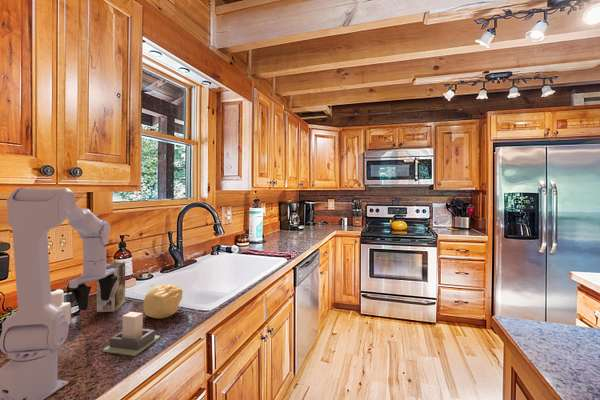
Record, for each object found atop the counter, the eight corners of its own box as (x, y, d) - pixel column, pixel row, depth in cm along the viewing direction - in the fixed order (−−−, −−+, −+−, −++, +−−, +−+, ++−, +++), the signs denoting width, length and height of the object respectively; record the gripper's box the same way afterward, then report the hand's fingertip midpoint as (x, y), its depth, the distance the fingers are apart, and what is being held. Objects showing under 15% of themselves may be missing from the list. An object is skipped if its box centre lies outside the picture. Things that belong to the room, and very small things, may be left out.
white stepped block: (29, 333, 88) (29, 294, 88) (48, 323, 95) (49, 287, 95) (53, 334, 88) (53, 294, 88) (71, 323, 95) (71, 287, 95)
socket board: (135, 355, 77) (135, 344, 77) (102, 351, 79) (103, 340, 79) (160, 337, 87) (160, 327, 87) (130, 334, 89) (130, 324, 89)
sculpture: (165, 324, 96) (165, 291, 96) (135, 319, 99) (136, 288, 99) (187, 311, 107) (187, 282, 107) (160, 307, 110) (160, 279, 110)
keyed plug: (134, 345, 81) (134, 317, 81) (120, 343, 82) (120, 315, 82) (142, 340, 84) (142, 313, 84) (128, 338, 85) (128, 311, 85)
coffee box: (107, 303, 113) (108, 262, 113) (125, 302, 114) (126, 261, 114) (95, 312, 104) (96, 268, 104) (115, 311, 106) (115, 267, 105)
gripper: (103, 254, 95) (103, 295, 95) (59, 264, 81) (59, 312, 81) (122, 255, 94) (122, 297, 94) (81, 265, 79) (80, 315, 80)
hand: (94, 304), depth 87 cm, fingers open, 7 cm apart
